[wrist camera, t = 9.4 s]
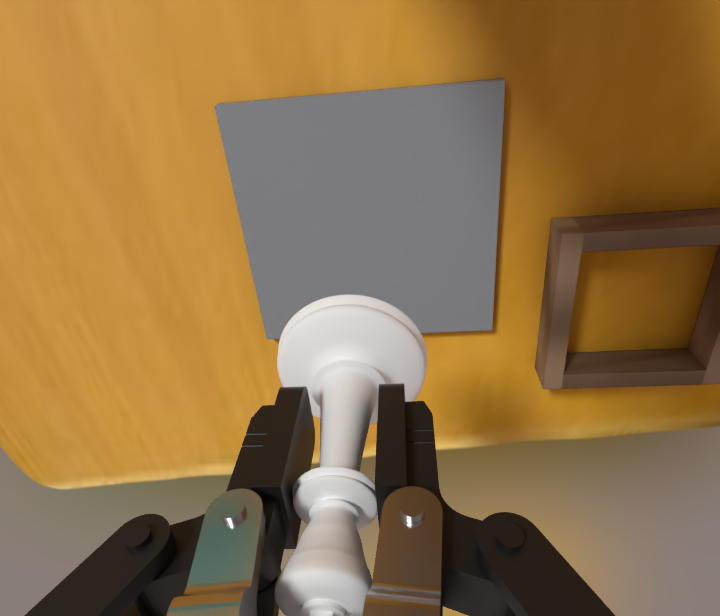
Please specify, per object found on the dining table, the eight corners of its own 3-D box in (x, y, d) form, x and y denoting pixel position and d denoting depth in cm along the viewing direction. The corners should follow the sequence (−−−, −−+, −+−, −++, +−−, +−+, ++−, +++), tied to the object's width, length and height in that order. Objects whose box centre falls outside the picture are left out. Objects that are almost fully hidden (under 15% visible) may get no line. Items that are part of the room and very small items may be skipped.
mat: (218, 103, 24) (214, 106, 23) (503, 78, 22) (505, 80, 22) (269, 333, 30) (267, 339, 30) (490, 324, 29) (492, 330, 29)
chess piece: (431, 295, 15) (478, 657, 7) (422, 415, 18) (448, 790, 10) (271, 291, 16) (126, 637, 7) (285, 411, 18) (189, 770, 10)
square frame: (551, 218, 26) (562, 234, 24) (752, 206, 25) (778, 221, 23) (534, 367, 31) (543, 389, 29) (702, 361, 30) (721, 383, 28)
